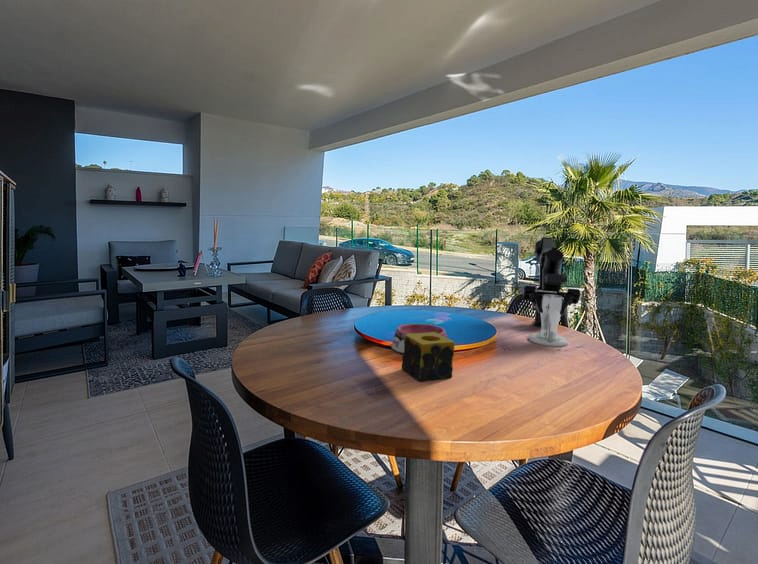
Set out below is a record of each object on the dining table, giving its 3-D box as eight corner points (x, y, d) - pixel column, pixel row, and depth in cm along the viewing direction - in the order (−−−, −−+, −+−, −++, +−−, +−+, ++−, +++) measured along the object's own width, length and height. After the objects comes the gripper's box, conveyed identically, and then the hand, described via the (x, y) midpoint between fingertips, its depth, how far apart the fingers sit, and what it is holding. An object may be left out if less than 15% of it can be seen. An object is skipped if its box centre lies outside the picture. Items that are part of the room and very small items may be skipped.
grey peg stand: (527, 334, 156) (528, 322, 155) (565, 338, 152) (566, 326, 152) (529, 343, 144) (530, 330, 143) (570, 348, 140) (572, 334, 139)
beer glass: (563, 338, 147) (567, 296, 145) (550, 341, 143) (554, 298, 141) (546, 333, 153) (550, 293, 150) (533, 335, 149) (537, 294, 147)
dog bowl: (383, 342, 139) (384, 322, 138) (434, 340, 145) (435, 320, 144) (403, 360, 122) (404, 337, 121) (459, 356, 127) (461, 334, 126)
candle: (400, 369, 114) (402, 333, 112) (433, 365, 118) (435, 331, 116) (418, 383, 104) (420, 344, 103) (453, 378, 108) (455, 341, 107)
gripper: (526, 263, 151) (525, 298, 142) (582, 266, 145) (585, 303, 137) (523, 282, 159) (522, 316, 150) (576, 285, 154) (578, 321, 145)
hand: (551, 314), depth 145 cm, fingers open, 7 cm apart
